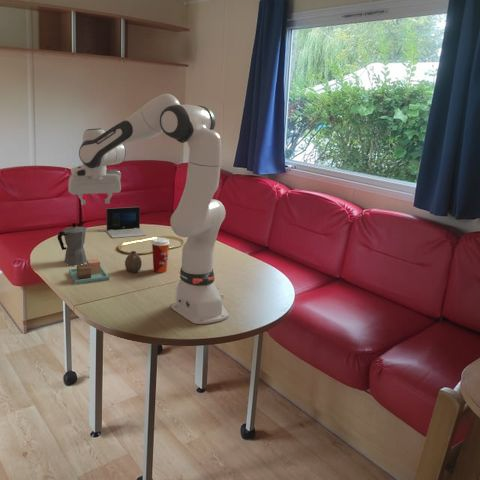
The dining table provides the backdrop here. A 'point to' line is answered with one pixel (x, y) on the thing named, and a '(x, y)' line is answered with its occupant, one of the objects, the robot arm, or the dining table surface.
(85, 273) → the walnut block
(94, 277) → the tray
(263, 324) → the dining table surface
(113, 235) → the laptop
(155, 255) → the paper cup
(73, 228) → the coffeepot
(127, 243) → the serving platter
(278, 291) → the dining table surface
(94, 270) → the terracotta block
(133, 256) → the vase
